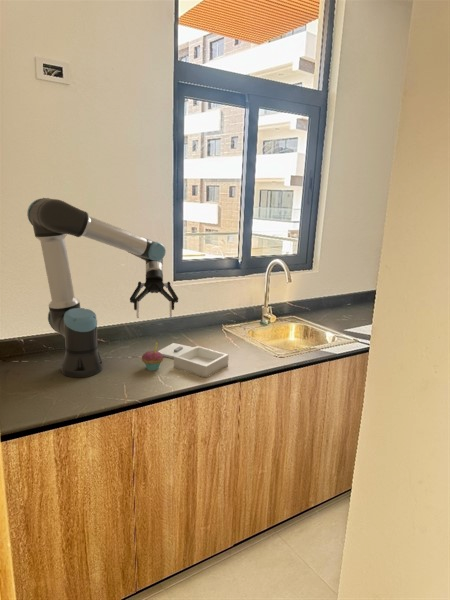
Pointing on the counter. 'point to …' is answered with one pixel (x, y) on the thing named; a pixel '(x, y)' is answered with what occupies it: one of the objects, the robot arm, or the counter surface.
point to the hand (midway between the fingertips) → (154, 316)
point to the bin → (201, 361)
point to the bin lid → (174, 350)
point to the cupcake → (152, 359)
